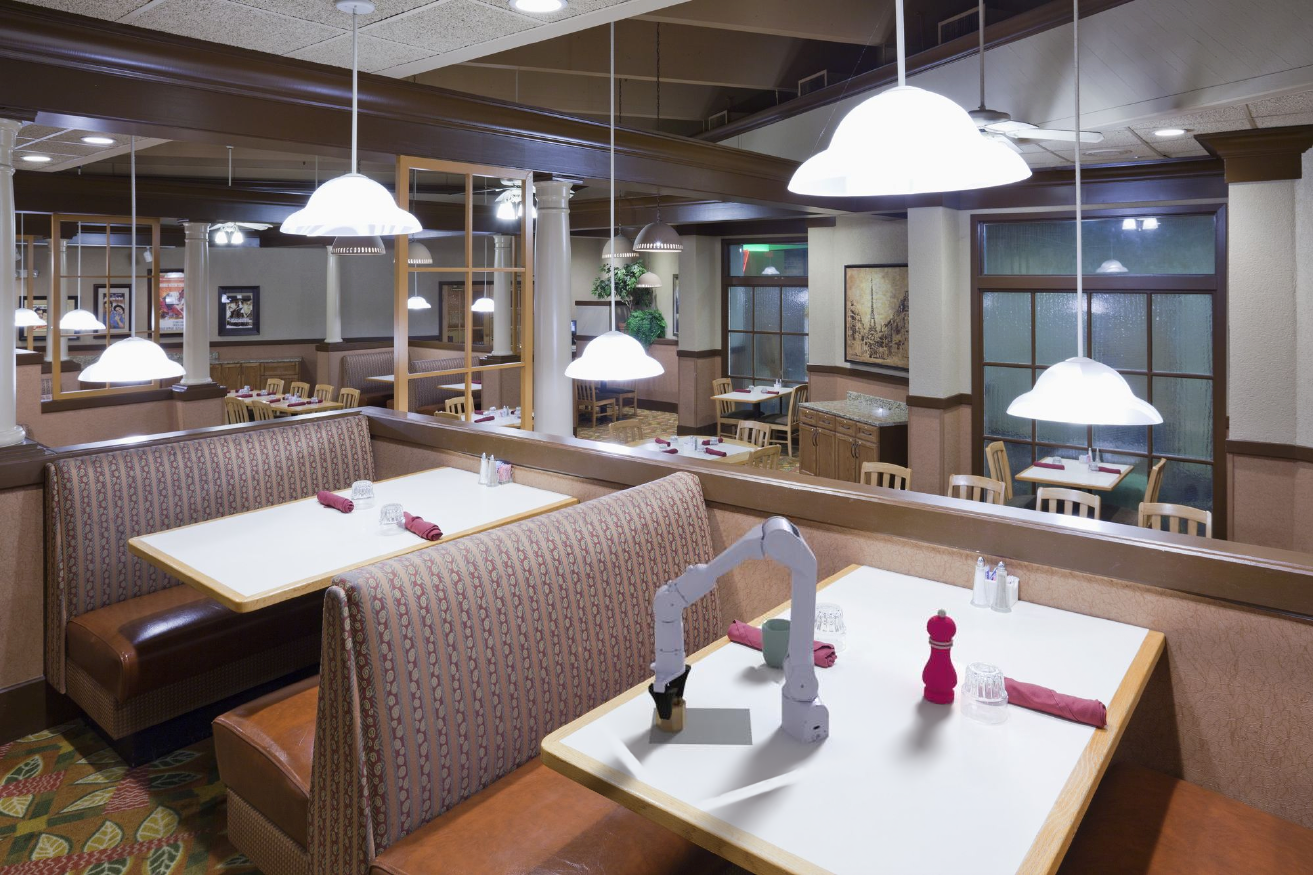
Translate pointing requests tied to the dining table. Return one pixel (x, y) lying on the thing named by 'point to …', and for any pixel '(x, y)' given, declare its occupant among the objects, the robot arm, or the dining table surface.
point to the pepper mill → (940, 660)
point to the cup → (775, 641)
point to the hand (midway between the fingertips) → (671, 709)
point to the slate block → (708, 728)
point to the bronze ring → (673, 717)
